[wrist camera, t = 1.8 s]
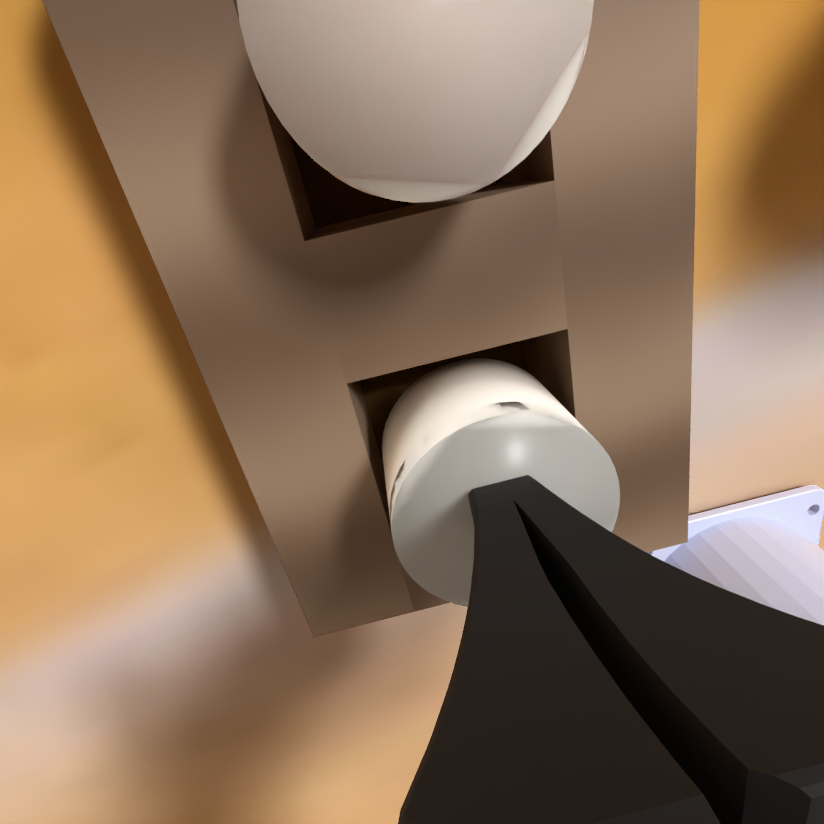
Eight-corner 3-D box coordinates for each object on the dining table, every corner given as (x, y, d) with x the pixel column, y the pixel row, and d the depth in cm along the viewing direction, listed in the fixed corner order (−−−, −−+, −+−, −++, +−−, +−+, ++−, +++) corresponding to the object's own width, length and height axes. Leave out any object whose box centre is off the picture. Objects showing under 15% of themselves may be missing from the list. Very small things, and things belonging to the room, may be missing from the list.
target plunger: (531, 169, 11) (603, 162, 8) (315, 222, 11) (301, 235, 8) (500, -129, 9) (581, -298, 6) (233, -66, 9) (171, -200, 6)
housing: (624, 475, 19) (687, 542, 16) (320, 551, 19) (313, 636, 16) (593, -223, 11) (708, -417, 8) (73, -101, 11) (-60, -240, 8)
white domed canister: (566, 495, 15) (624, 577, 12) (404, 536, 15) (418, 630, 12) (549, 337, 13) (614, 386, 10) (361, 384, 13) (364, 448, 10)
